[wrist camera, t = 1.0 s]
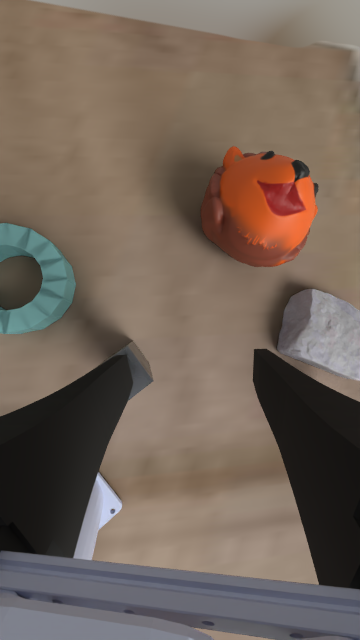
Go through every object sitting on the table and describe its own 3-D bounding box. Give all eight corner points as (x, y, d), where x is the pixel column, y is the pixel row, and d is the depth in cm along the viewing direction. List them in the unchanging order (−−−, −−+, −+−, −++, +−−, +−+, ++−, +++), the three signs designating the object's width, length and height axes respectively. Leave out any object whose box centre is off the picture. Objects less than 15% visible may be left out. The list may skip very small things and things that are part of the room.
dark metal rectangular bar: (125, 381, 21) (115, 409, 13) (108, 358, 21) (88, 373, 13) (149, 363, 22) (153, 380, 14) (132, 340, 22) (127, 345, 14)
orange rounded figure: (179, 251, 23) (213, 177, 12) (208, 180, 25) (264, 55, 14) (261, 291, 25) (356, 258, 14) (284, 223, 27) (387, 145, 15)
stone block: (279, 291, 28) (271, 356, 25) (309, 276, 24) (303, 354, 20) (339, 319, 30) (338, 382, 27) (376, 310, 26) (381, 385, 23)
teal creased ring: (5, 352, 19) (-15, 355, 17) (-61, 269, 18) (-92, 259, 16) (94, 297, 21) (88, 292, 19) (37, 220, 20) (23, 204, 18)
